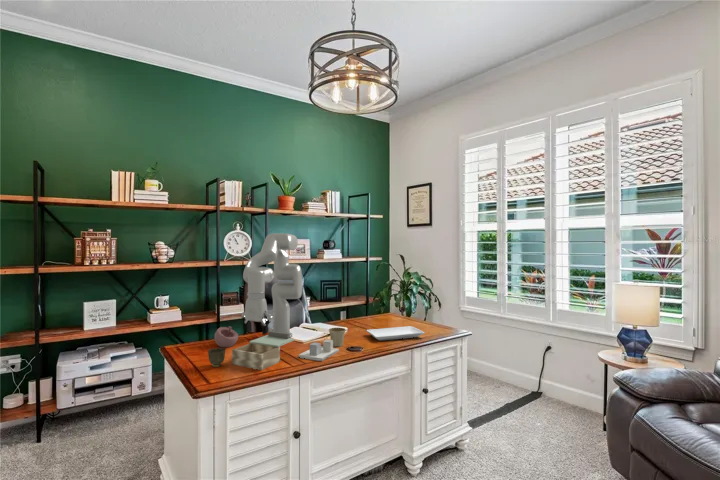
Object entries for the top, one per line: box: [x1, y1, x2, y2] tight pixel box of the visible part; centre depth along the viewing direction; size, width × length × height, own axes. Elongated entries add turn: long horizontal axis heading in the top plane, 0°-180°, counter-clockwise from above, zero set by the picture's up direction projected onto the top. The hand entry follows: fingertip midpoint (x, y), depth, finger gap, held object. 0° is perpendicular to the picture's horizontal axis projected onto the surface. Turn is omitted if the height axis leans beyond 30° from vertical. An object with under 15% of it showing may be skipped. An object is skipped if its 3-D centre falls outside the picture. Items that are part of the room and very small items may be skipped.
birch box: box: [231, 343, 281, 371], centre depth 172 cm, size 17×13×7 cm
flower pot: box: [328, 327, 347, 348], centre depth 201 cm, size 9×9×9 cm
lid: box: [248, 331, 295, 348], centre depth 182 cm, size 17×13×3 cm
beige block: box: [322, 339, 334, 352], centre depth 188 cm, size 4×4×5 cm
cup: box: [207, 346, 227, 368], centre depth 167 cm, size 8×7×8 cm
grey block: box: [309, 341, 322, 356], centre depth 183 cm, size 4×4×5 cm
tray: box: [365, 325, 425, 341], centre depth 221 cm, size 17×32×4 cm, turn 109°
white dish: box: [298, 345, 340, 362], centre depth 185 cm, size 13×17×1 cm
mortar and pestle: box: [214, 325, 239, 348], centre depth 198 cm, size 12×12×12 cm
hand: (256, 332), depth 172 cm, fingers open, 9 cm apart
